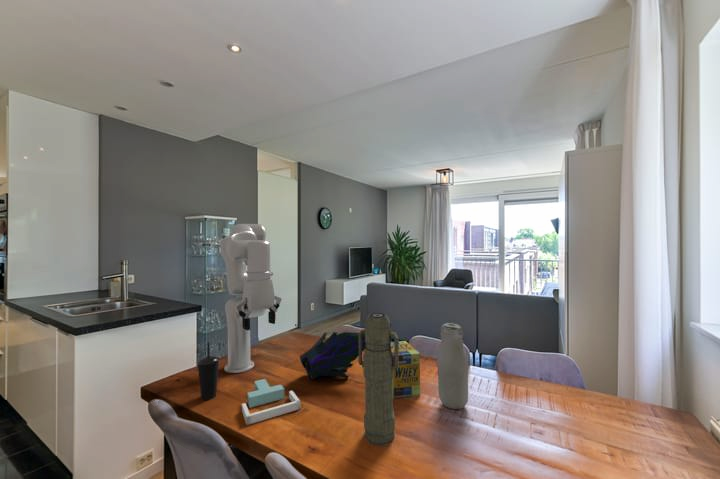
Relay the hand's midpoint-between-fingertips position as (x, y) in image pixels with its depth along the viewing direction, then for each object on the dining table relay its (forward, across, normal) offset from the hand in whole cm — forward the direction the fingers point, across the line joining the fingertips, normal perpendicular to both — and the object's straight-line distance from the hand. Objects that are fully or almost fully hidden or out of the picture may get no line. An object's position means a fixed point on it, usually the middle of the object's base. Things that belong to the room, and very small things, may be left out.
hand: (259, 326), depth 105 cm
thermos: (+28, -13, +41) cm, 51 cm away
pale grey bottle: (+28, -41, +51) cm, 72 cm away
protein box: (+28, -42, +30) cm, 58 cm away
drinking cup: (+28, +8, -22) cm, 36 cm away
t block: (+28, -5, -6) cm, 29 cm away
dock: (+28, -1, +5) cm, 28 cm away
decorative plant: (+28, -34, +2) cm, 45 cm away
